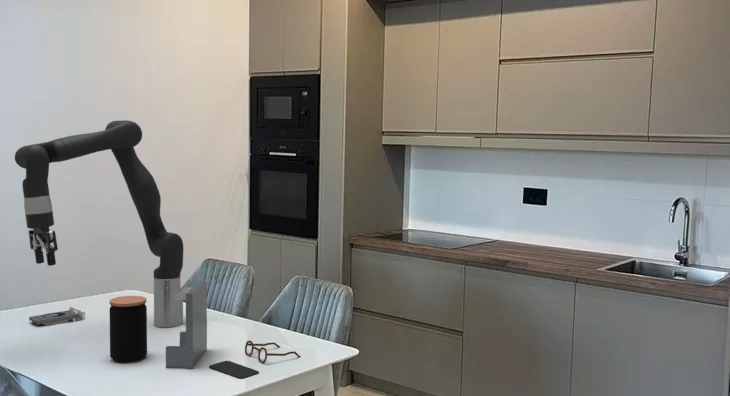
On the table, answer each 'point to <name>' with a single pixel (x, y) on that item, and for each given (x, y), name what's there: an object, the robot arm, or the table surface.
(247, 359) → the table surface
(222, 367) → the phone
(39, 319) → the graphics card
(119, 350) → the coffee jar
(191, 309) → the bracket
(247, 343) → the glasses
